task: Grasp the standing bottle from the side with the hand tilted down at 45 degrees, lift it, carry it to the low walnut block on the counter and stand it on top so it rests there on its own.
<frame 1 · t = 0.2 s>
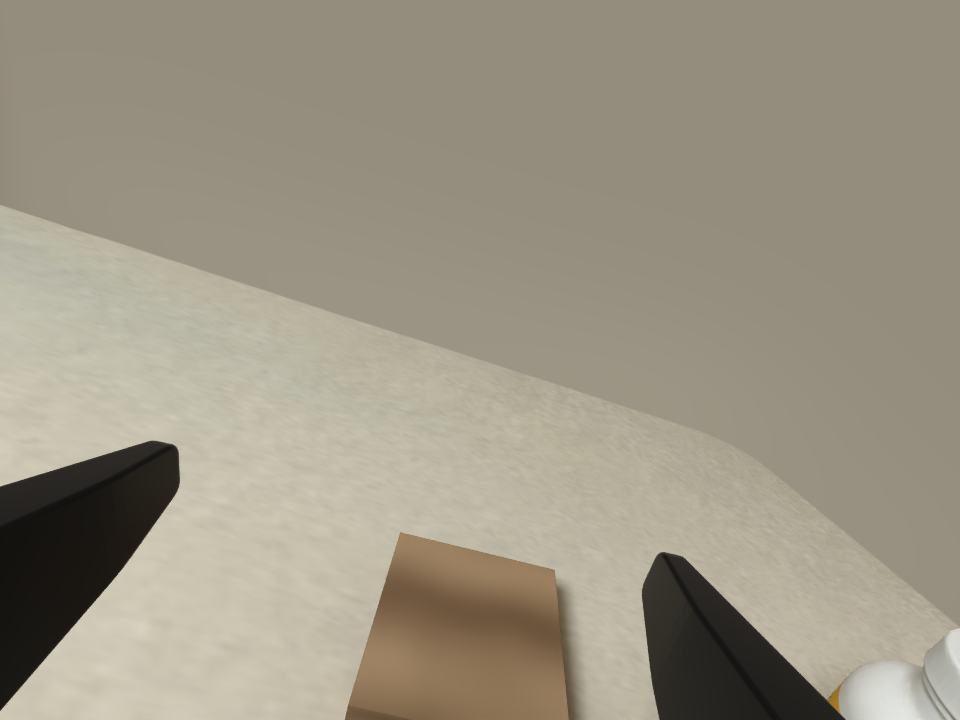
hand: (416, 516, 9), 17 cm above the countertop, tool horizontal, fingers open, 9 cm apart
walnut block: (459, 657, 23), on the countertop
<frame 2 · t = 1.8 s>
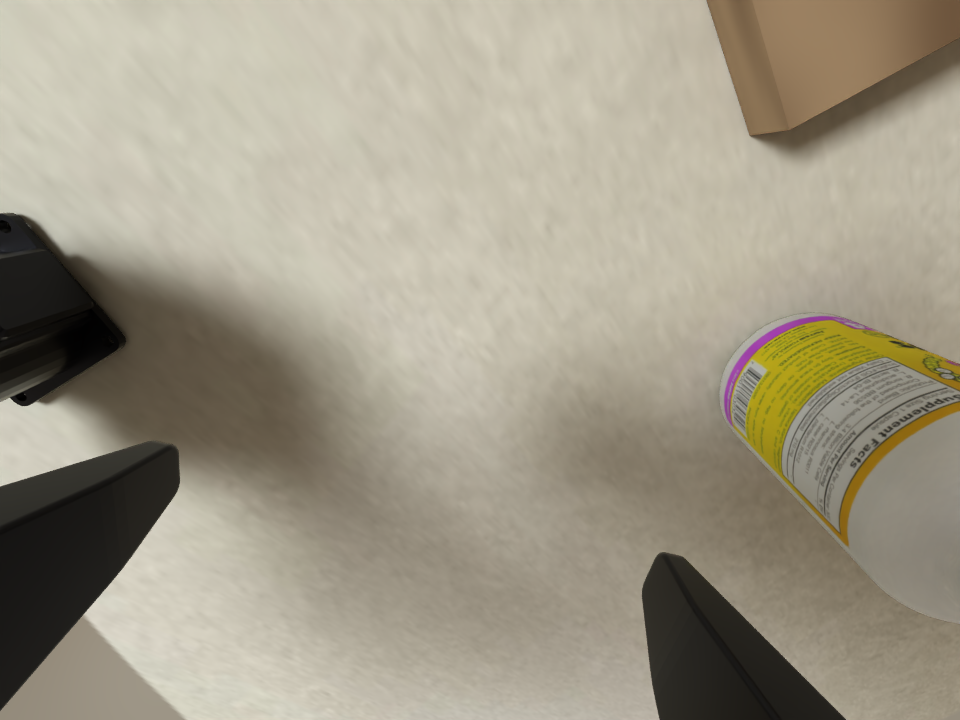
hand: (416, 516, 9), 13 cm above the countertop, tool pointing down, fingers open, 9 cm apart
supplement bottle: (785, 377, 21), on the countertop
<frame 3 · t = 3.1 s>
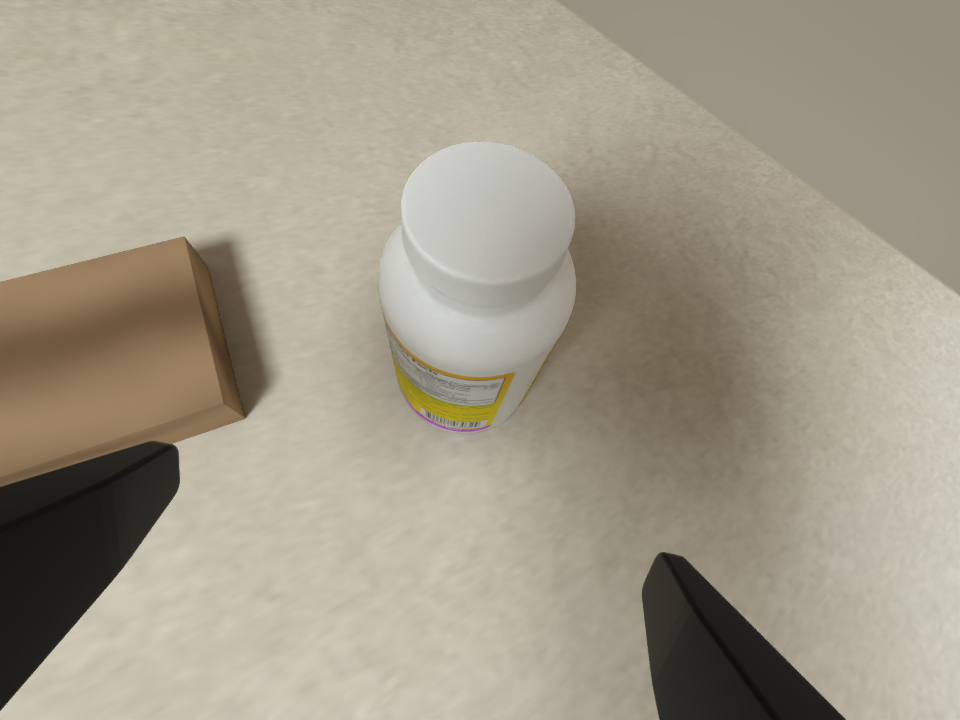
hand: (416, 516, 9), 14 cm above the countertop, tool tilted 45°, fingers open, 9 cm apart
supplement bottle: (462, 375, 24), on the countertop
walnut block: (127, 366, 23), on the countertop
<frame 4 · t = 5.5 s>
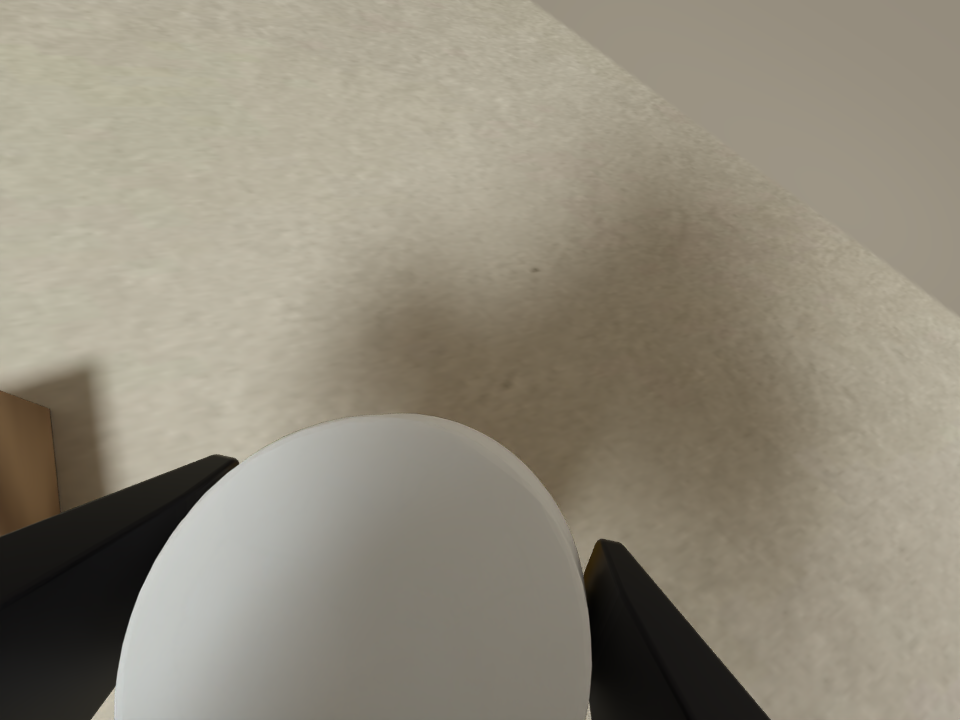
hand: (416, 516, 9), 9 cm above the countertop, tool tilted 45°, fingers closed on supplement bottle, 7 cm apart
supplement bottle: (414, 575, 17), on the countertop, touching gripper
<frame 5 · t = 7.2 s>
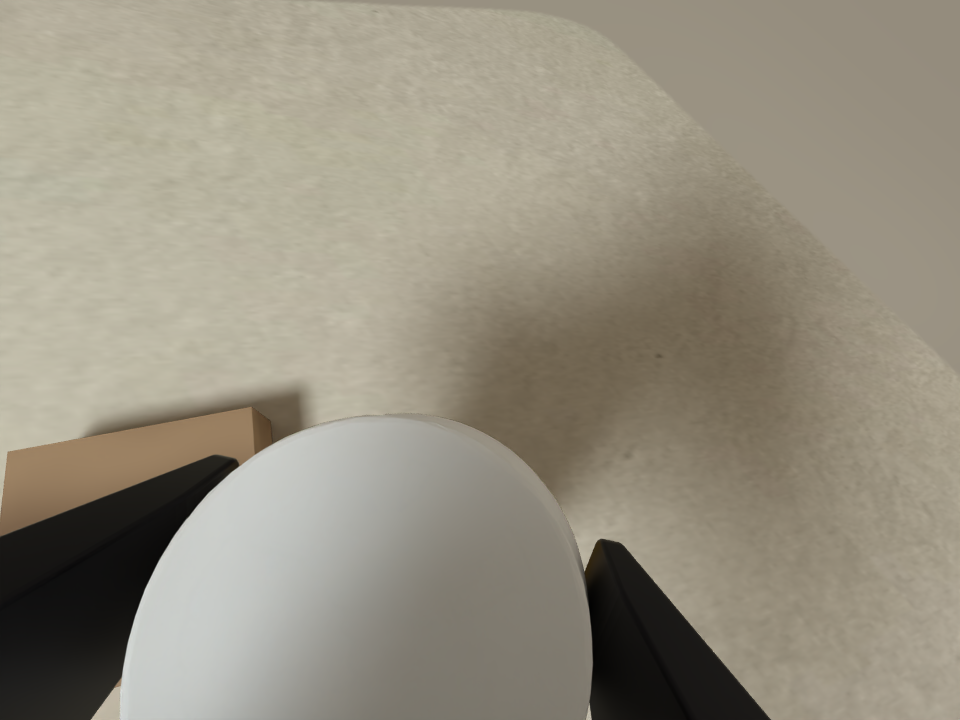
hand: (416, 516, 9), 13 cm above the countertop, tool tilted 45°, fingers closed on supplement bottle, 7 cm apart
supplement bottle: (417, 574, 17), point 4 cm above the countertop, touching gripper
walnut block: (167, 545, 20), on the countertop
when the fingers open (12 cm above the countertop, at t = 8.8 s): supplement bottle stays where it is, resting on walnut block.
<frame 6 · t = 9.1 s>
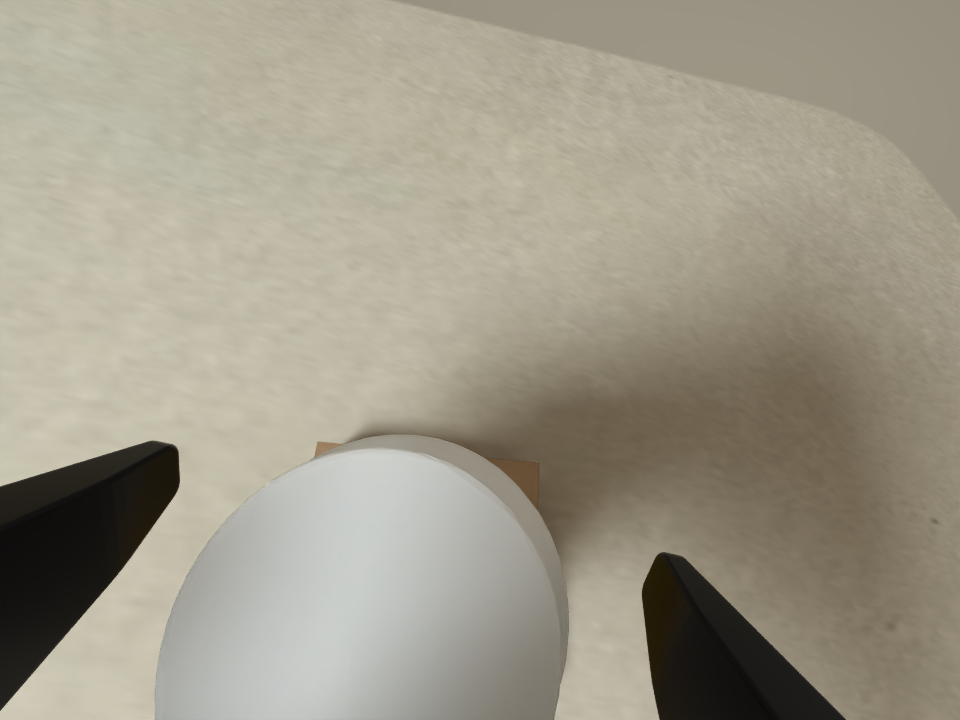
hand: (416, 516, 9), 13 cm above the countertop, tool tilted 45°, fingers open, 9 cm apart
supplement bottle: (414, 579, 18), point 2 cm above the countertop, touching walnut block
walnut block: (417, 571, 20), on the countertop
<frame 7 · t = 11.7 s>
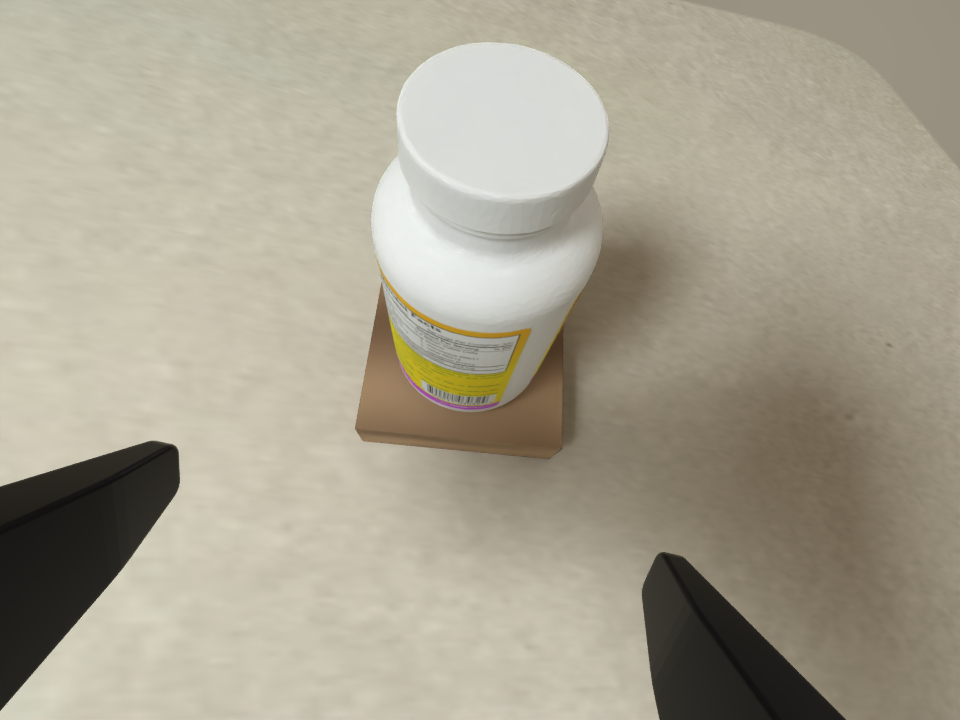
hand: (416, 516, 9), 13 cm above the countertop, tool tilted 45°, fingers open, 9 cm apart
supplement bottle: (467, 349, 22), point 2 cm above the countertop, touching walnut block
walnut block: (465, 363, 24), on the countertop
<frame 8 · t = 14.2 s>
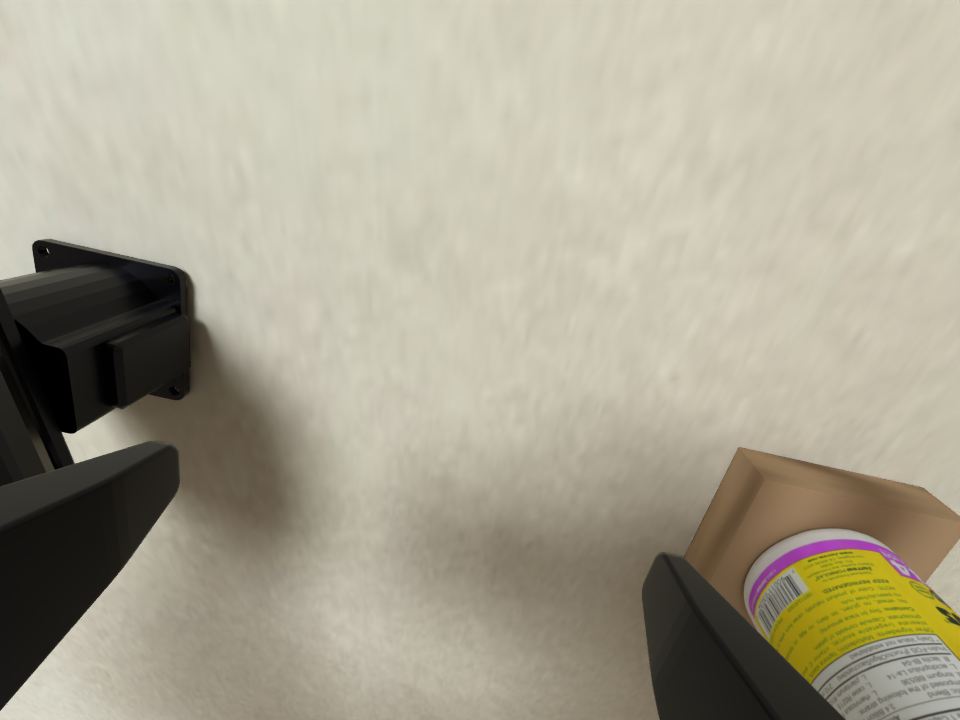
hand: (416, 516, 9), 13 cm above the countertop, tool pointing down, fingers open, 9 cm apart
supplement bottle: (811, 574, 22), point 2 cm above the countertop, touching walnut block
walnut block: (788, 539, 24), on the countertop
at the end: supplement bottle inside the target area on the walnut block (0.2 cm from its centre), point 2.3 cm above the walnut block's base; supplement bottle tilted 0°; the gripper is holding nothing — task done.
